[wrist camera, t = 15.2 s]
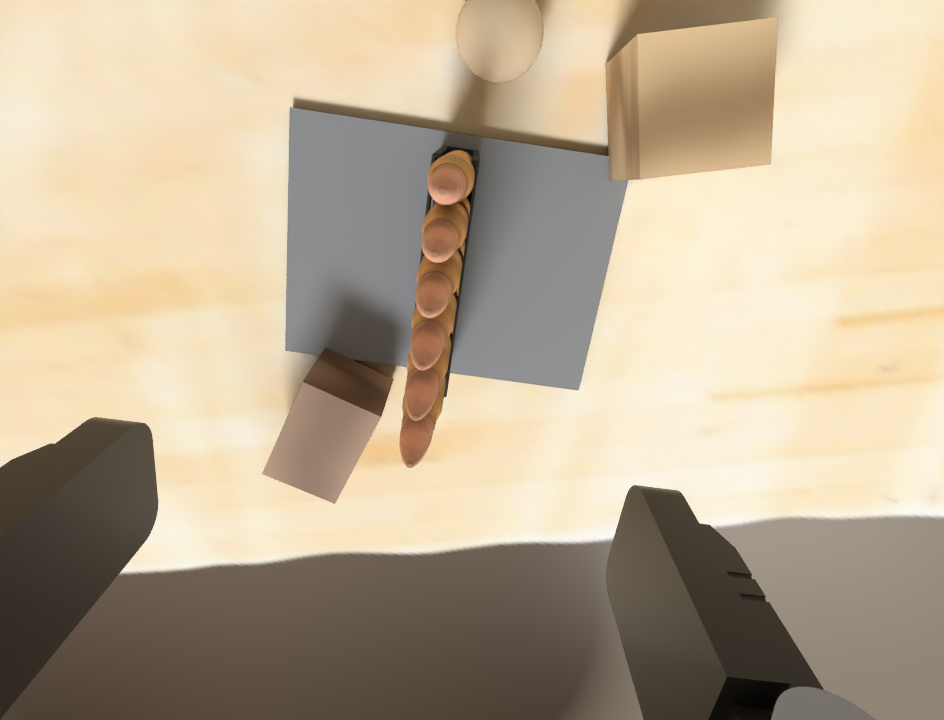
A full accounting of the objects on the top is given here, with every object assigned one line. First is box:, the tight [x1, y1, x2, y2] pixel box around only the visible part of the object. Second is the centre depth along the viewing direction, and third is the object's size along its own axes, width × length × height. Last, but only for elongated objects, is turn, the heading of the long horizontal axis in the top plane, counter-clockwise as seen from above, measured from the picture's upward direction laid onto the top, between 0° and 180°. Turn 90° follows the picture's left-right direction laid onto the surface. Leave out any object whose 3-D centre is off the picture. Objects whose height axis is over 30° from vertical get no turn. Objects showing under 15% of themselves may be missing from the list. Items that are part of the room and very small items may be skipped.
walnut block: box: [262, 347, 393, 504], centre depth 29 cm, size 4×6×4 cm, turn 152°
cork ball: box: [456, 0, 543, 83], centre depth 23 cm, size 4×4×4 cm
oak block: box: [606, 17, 778, 181], centre depth 23 cm, size 5×5×5 cm
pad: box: [285, 107, 628, 390], centre depth 28 cm, size 12×16×1 cm
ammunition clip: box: [400, 145, 480, 468], centre depth 22 cm, size 11×2×12 cm, turn 172°
